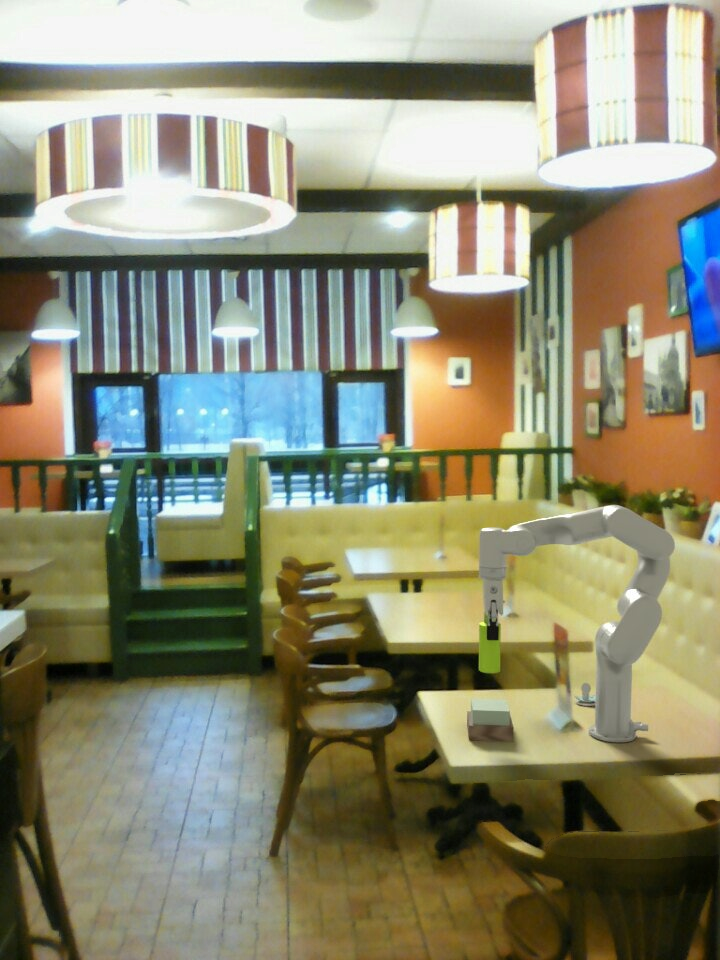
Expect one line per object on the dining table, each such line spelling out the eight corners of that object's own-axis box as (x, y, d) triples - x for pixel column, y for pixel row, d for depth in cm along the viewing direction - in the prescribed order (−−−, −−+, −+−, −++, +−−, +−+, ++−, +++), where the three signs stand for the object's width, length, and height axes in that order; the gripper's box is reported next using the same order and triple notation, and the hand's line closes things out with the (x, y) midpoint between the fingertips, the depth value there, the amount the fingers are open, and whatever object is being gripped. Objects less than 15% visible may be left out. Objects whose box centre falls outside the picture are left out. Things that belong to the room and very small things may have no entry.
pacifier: (601, 707, 268) (595, 700, 274) (601, 687, 267) (595, 681, 273) (577, 707, 267) (572, 700, 273) (578, 687, 267) (572, 681, 273)
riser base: (509, 726, 249) (509, 712, 249) (513, 741, 237) (513, 727, 237) (467, 724, 250) (467, 711, 250) (468, 739, 238) (469, 725, 238)
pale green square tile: (506, 713, 248) (506, 699, 248) (509, 725, 238) (509, 711, 238) (471, 712, 249) (471, 698, 249) (472, 724, 239) (472, 710, 239)
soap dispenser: (504, 673, 239) (504, 601, 238) (478, 672, 240) (479, 600, 239) (503, 667, 245) (504, 597, 244) (479, 666, 246) (479, 596, 245)
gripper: (509, 578, 232) (508, 645, 233) (503, 567, 249) (502, 630, 250) (480, 577, 233) (479, 644, 234) (477, 567, 250) (476, 629, 251)
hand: (491, 636), depth 242 cm, fingers closed on soap dispenser, 5 cm apart
